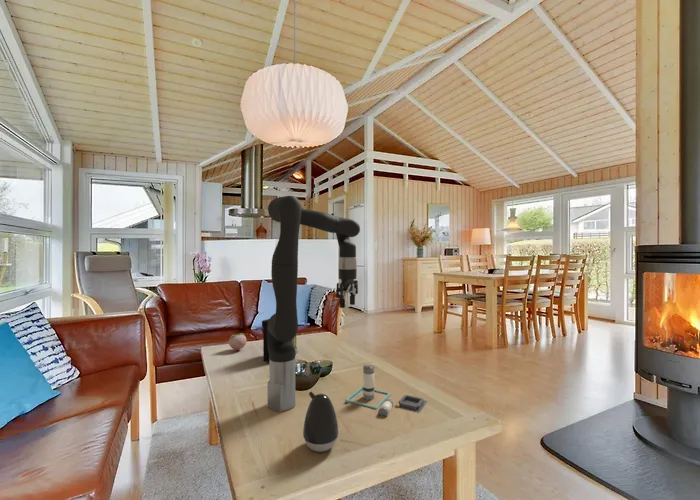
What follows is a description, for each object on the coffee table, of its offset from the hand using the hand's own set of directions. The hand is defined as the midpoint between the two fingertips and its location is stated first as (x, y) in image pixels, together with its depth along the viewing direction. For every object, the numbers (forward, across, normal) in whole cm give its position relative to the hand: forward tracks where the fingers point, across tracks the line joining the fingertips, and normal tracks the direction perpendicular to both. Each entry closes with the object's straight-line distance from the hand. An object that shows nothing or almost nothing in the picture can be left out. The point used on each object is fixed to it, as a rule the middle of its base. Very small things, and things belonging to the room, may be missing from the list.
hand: (347, 306), depth 145 cm
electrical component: (+32, +10, +45) cm, 56 cm away
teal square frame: (+32, -11, -16) cm, 37 cm away
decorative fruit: (+32, +7, +72) cm, 79 cm away
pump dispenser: (+32, -44, -16) cm, 57 cm away
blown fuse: (+32, -11, -15) cm, 37 cm away
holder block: (+32, -8, -31) cm, 45 cm away
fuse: (+32, -17, -25) cm, 44 cm away
